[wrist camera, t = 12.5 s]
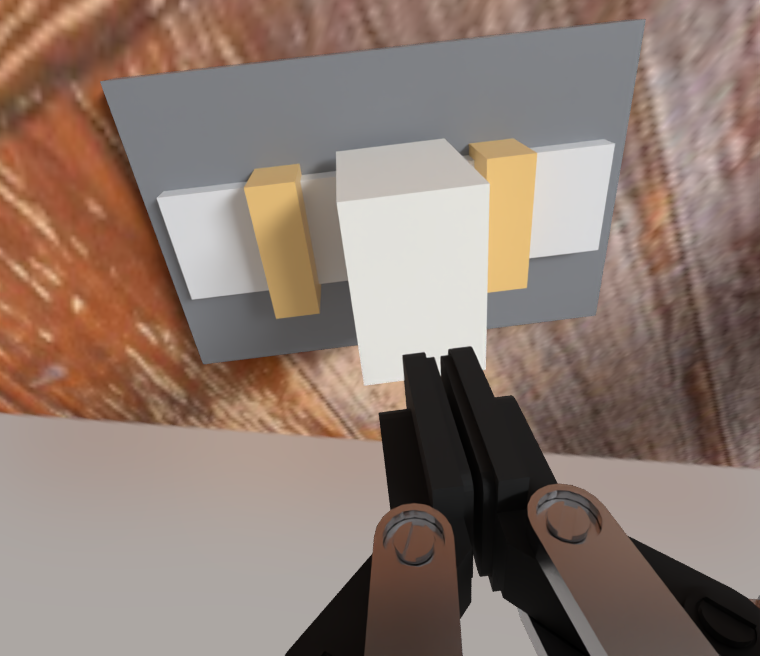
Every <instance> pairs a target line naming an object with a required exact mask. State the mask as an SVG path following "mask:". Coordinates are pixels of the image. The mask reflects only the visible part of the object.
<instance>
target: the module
mask: <svg viewBox="0 0 760 656" xmlns="http://www.w3.org/2000/svg"><path fill="white" fill-rule="evenodd" d="M489 194H490V183H489V182H488V181H487V180H486V179H485V178H484V177H483V176H482V175H481V174H480V173H479V172H478V171H477V170H476V169H475V168H474V167H473V166H472V165H471V164H470V163H469V162H468V161H467V160H466V159H465V158H464V157H463V156H462V155H461V154H460V153H459V152H458V151H457V150H456V149H455V148H454V147H453V146H451V145H450V144H449V143H448V142H447V141H446V140H445V139H444V138H443V139H435V140H427V141H419V142H411V143H402V144H394V145H386V146H378V147H370V148H362V149H354V150H346V151H337V152H336V201H337V209H338V216H339V222H340V229H341V235H342V242H343V249H344V255H345V262H346V268H347V275H348V282H349V288H350V295H351V301H352V308H353V314H354V321H355V328H356V334H357V341H358V347H359V354H360V361H361V367H362V374H363V380H364V386H365V385H373V384H380V383H388V382H396V381H403V380H404V372H403V360H402V355H405V354H413V353H420V352H425V354H426V357H427V358H428V357H435V360H436V363H437V366H438V370H439V373H440V376H441V366H440V357H441V356H444V355H448V349H452V348H459V347H467V346H471V347H472V348H473V350H474V352H475V354H476V356H477V359H478V361H479V363H480V365H481V368H482V370H486V331H487V285H488V240H489Z"/></svg>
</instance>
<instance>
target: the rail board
mask: <svg viewBox="0 0 760 656" xmlns="http://www.w3.org/2000/svg"><path fill="white" fill-rule="evenodd" d="M645 20H646V19H639V20H621V21H613V22H604V23H595V24H586V25H578V26H569V27H560V28H551V29H543V30H534V31H525V32H516V33H508V34H499V35H490V36H481V37H472V38H464V39H455V40H446V41H437V42H429V43H420V44H411V45H402V46H394V47H385V48H376V49H367V50H359V51H350V52H341V53H332V54H324V55H315V56H306V57H297V58H289V59H280V60H271V61H262V62H254V63H245V64H236V65H227V66H219V67H210V68H201V69H192V70H184V71H175V72H166V73H157V74H149V75H140V76H131V77H122V78H114V79H110V80H105V81H101V82H100V83H101V85H102V88H103V91H104V94H105V96H106V99H107V102H108V105H109V107H110V110H111V113H112V116H113V118H114V121H115V124H116V127H117V129H118V132H119V135H120V138H121V140H122V143H123V146H124V148H125V151H126V154H127V157H128V159H129V162H130V165H131V168H132V170H133V173H134V176H135V179H136V181H137V184H138V187H139V190H140V192H141V195H142V198H143V201H144V203H145V206H146V209H147V212H148V214H149V217H150V220H151V222H152V225H153V228H154V231H155V233H156V236H157V239H158V242H159V244H160V247H161V250H162V253H163V255H164V258H165V261H166V264H167V266H168V269H169V272H170V275H171V277H172V280H173V283H174V286H175V288H176V291H177V294H178V296H179V299H180V302H181V305H182V307H183V310H184V313H185V316H186V318H187V321H188V324H189V327H190V329H191V332H192V335H193V338H194V340H195V343H196V346H197V349H198V351H199V354H200V357H201V359H202V362H203V364H210V363H218V362H226V361H234V360H242V359H250V358H258V357H266V356H274V355H282V354H290V353H298V352H306V351H314V350H322V349H330V348H338V347H346V346H354V345H358V341H357V334H356V328H355V321H354V314H353V308H352V301H351V295H350V288H349V282H348V275H347V268H346V262H345V255H344V249H343V242H342V235H341V229H340V222H339V216H338V209H337V201H336V152H337V151H346V150H354V149H362V148H370V147H378V146H386V145H394V144H402V143H411V142H419V141H427V140H435V139H443V138H444V139H445V140H446V141H447V142H448V143H449V144H450V145H451V146H453V147H454V148H455V149H456V150H457V151H458V152H459V153H460V154H461V155H462V156H463V157H464V158H465V159H466V160H467V161H468V162H469V163H470V164H471V165H472V166H473V167H474V168H475V169H476V170H477V171H478V172H479V173H480V174H481V175H482V176H483V177H484V178H485V179H486V180H487V181H488V182H489V183H490V194H489V240H488V285H487V329H491V328H499V327H507V326H515V325H523V324H531V323H539V322H547V321H555V320H563V319H571V318H579V317H587V316H595V315H596V310H597V304H598V298H599V292H600V286H601V280H602V274H603V269H604V263H605V257H606V251H607V245H608V239H609V233H610V227H611V221H612V215H613V209H614V204H615V198H616V192H617V186H618V180H619V174H620V168H621V162H622V156H623V150H624V144H625V139H626V133H627V127H628V121H629V115H630V109H631V103H632V97H633V91H634V85H635V79H636V74H637V68H638V62H639V56H640V50H641V44H642V38H643V32H644V26H645Z"/></svg>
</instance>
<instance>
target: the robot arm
mask: <svg viewBox="0 0 760 656" xmlns="http://www.w3.org/2000/svg"><path fill="white" fill-rule="evenodd" d="M402 360H403V372H404V383H405V395H406V406H407V409H403V410H396V411H388V412H380V413H379V420H380V428H381V436H382V444H383V452H384V461H385V469H386V477H387V485H388V493H389V502H390V511H389V512H388V513H387V514H386V515H384V516H383V517H382V519H381V521H380V522H379V523H378V525H377V527H376V531H375V535H374V543H373V553H372V555H371V556H370V557H369V558H368V559H367V560H366V562H365V563H364V564H363V565H362V566H361V567H360V569H359V570H358V571H357V572H356V573H355V574H354V575H353V577H352V578H351V579H350V580H349V581H348V582H347V583H346V585H345V586H344V587H343V588H342V589H341V591H339V593H338V594H337V595H336V596H335V597H334V598H333V600H332V601H331V602H330V603H329V604H328V605H327V606H326V608H325V609H324V610H323V611H322V612H321V613H320V615H319V616H318V617H317V618H316V619H315V620H314V621H313V623H312V624H311V625H310V626H309V627H308V628H307V629H306V631H305V632H304V633H303V634H302V635H301V636H300V638H299V639H298V640H297V641H296V642H295V644H293V646H292V647H291V648H290V649H289V650H288V651H287V653H286V654H285V656H463V653H462V639H461V625H460V619H461V617H462V616H463V614H464V612H465V611H466V609H467V608H468V606H469V605H470V603H471V578H472V577H473V555H474V559H475V563H476V567H477V570H478V573H479V576H480V577H482V576H488V577H489V580H490V583H491V587H492V591H493V592H494V591H501V593H502V596H503V598H504V599H506V600H507V601H509V602H510V603H512V604H513V605H515V606H516V607H518V612H519V615H520V618H521V621H522V623H523V625H524V627H525V629H526V631H527V634H528V636H529V638H530V640H531V642H532V644H533V646H534V648H535V650H536V653H537V655H538V656H760V596H759V597H758V599H748V598H747V597H745V596H743V595H742V594H740V593H738V592H737V591H735V590H734V589H732V588H730V587H728V586H726V585H724V584H722V583H720V582H718V581H716V580H714V579H712V578H710V577H708V576H706V575H704V574H702V573H700V572H698V571H696V570H694V569H693V568H690V567H689V566H687V565H685V564H683V563H681V562H679V561H676V560H675V559H673V558H670V557H669V556H667V555H665V554H663V553H661V552H659V551H657V550H655V549H653V548H651V547H649V546H647V545H645V544H643V543H641V542H639V541H637V540H635V539H633V538H631V537H629V536H627V535H626V533H625V532H624V531H623V529H622V528H621V527H620V525H619V524H618V523H617V521H616V520H615V519H614V518H613V516H612V515H611V514H610V512H609V511H608V510H607V508H606V507H605V506H604V505H603V504H602V503H601V502H600V501H599V500H598V499H597V498H596V497H595V496H594V495H592V494H590V493H589V492H587V491H586V490H584V489H581V488H578V487H576V486H573V485H567V484H558V483H557V481H556V479H555V477H554V475H553V473H552V471H551V469H550V468H549V465H548V463H547V461H546V459H545V457H544V455H543V453H542V451H541V449H540V447H539V445H538V443H537V441H536V439H535V437H534V435H533V433H532V431H531V429H530V427H529V425H528V423H527V421H526V419H525V417H524V415H523V413H522V411H521V409H520V407H519V405H518V403H517V401H516V400H515V398H514V397H513V396H512V395H510V396H503V397H494V395H493V393H492V390H491V388H490V386H489V383H488V381H487V379H486V377H485V374H484V372H483V370H482V368H481V365H480V363H479V361H478V359H477V356H476V354H475V352H474V350H473V348H472V347H471V346H467V347H459V348H452V349H448V355H444V356H441V357H440V366H441V376H440V373H439V370H438V366H437V363H436V360H435V357H428V358H427V357H426V354H425V352H420V353H413V354H405V355H402Z"/></svg>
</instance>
